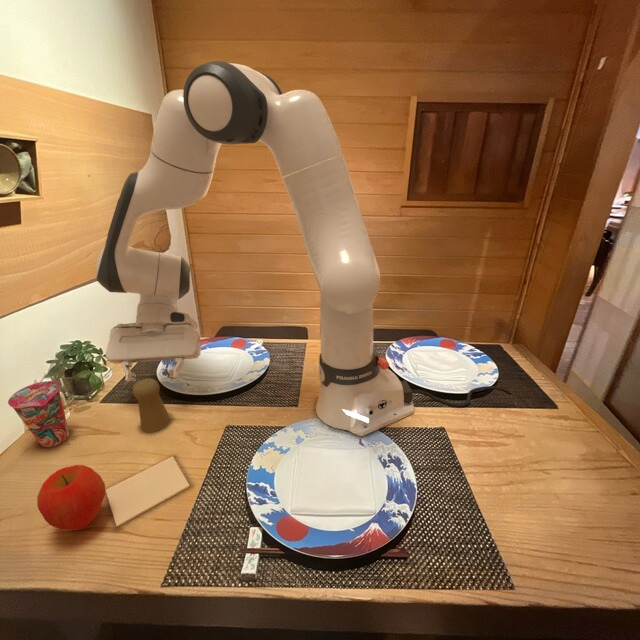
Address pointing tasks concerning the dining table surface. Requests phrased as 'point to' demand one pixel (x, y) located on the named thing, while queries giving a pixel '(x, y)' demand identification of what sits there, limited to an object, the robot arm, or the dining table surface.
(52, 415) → the cup
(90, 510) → the apple
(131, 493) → the napkin
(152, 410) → the pepper shaker
